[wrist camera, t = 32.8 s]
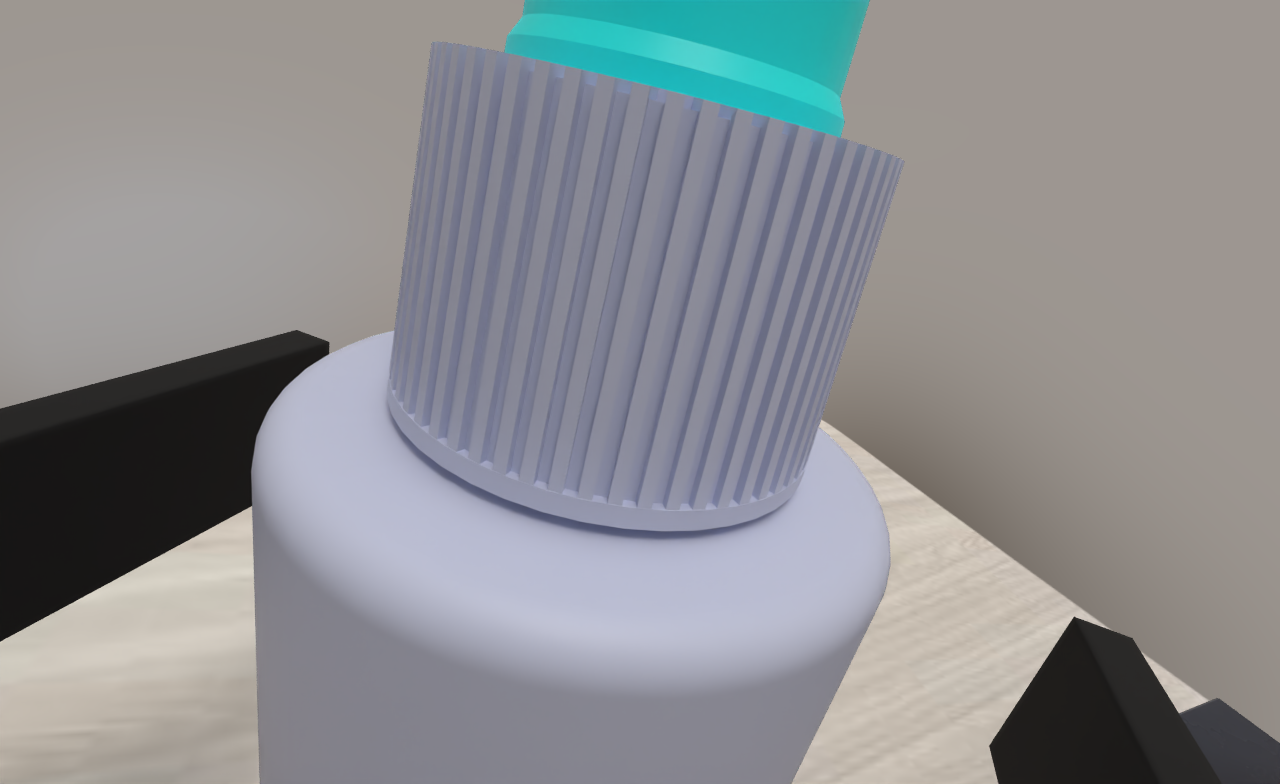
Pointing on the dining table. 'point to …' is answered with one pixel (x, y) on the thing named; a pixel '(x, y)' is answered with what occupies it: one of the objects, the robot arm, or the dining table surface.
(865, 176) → the spray bottle
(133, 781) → the dining table surface
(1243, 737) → the dark square tile
